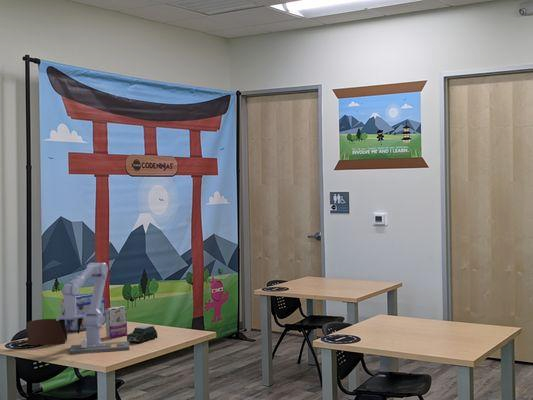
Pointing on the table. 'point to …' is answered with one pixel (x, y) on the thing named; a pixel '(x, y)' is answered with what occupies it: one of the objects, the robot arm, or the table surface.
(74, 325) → the lunch box
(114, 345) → the console board
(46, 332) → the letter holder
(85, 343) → the fader knob
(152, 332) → the miniature car
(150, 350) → the table surface
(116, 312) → the candy bar box
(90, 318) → the robot arm
